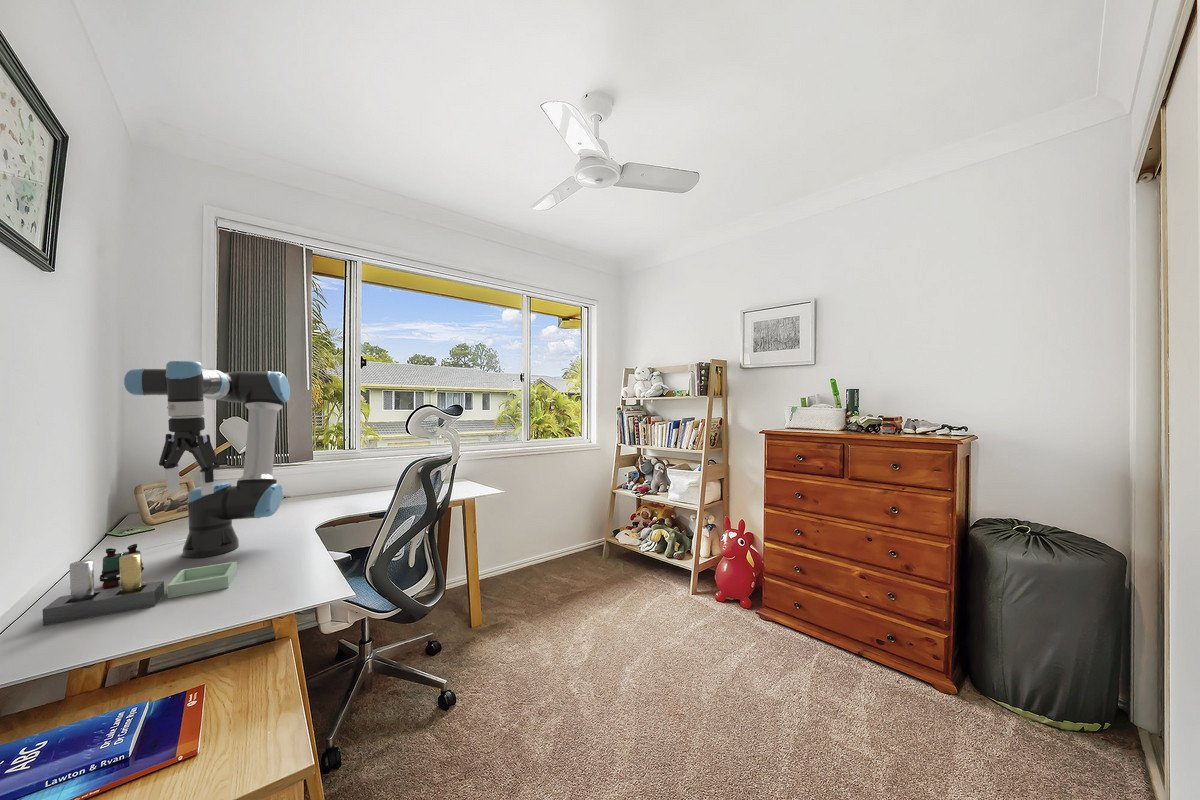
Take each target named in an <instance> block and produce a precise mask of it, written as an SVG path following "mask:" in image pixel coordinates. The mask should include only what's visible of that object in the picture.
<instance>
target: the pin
mask: <svg viewBox="0 0 1200 800" xmlns="http://www.w3.org/2000/svg"><path fill="white" fill-rule="evenodd" d="M94 568H95V567H94V559H83V560H79V561H75V562H71V563H70V564H69V579H70V581H69V582H70V583H69V585H70V595H71V603H73V602H79V601H85V600H91V599H93V598H94V597H95V595H94V591H95V571H94Z"/></svg>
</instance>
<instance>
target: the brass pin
mask: <svg viewBox="0 0 1200 800" xmlns="http://www.w3.org/2000/svg"><path fill="white" fill-rule="evenodd" d="M141 560H142V553H141V554H140V553H134V554H128V555H124V556H123V555H122V556H121V557H120V558H119V566H120V575H119V577H120V580H119V587H120V593H121V595H122V594H128V593H134V592H140V591H142V584H143V581H142V580H143V579H142V578H143V577H142V576H143V575H142V572H143V571H142V572H141Z"/></svg>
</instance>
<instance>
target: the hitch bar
mask: <svg viewBox="0 0 1200 800" xmlns="http://www.w3.org/2000/svg"><path fill="white" fill-rule="evenodd" d="M165 592H166V591H165V580H164V579H163V580H158V581H157V580H156V581H151V582H145V583H143V582H142V591H140V592H134V593H128V594H122V595H121V593H120V586H118V587H116V588H111V589H101V590H94V595H95V597H94V598H93V599H91V600H85V601H79V602H73V603H71V594H69V595H62V596H58V597H57V598H56V599H54V600H53V601H51V603H49V604H48V605H46V606H45V607H43V609H42V627H43V626H44V627H45V626H50V625H57V624H63V623H67V622H73V621H78V620H84V619H88V618H89V619H90V618H95V617H101V616H105V615H106V616H107V615H113V614H119V613H123V612H124V613H125V612H130V611H135V610H141V609H147V608H151V607H152V608H153V607H155V606H156V605H157V604H158V603H159V602H160V601H161V600H162V598H163V597H164V596H165V594H166V593H165Z"/></svg>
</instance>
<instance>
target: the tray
mask: <svg viewBox="0 0 1200 800" xmlns="http://www.w3.org/2000/svg"><path fill="white" fill-rule="evenodd" d="M237 567H238V562H237V561H230V562H224V563H218V564H209V565H205V566H198V567H191V568H186V569H181V570H179V572H178V573H177V574H176V575H175V576H174V578H172V580H171V581H170V582H169V583H168V584H167V585H166V587H167V599H172V598H177V597H182V596H188V595H193V594H194V595H195V594H200V593H206V592H210V591H211V592H212V591H216V590H217V591H219V590H224V589H228V588H229V587H230V586H231V584H232V582H233V581H234V578H235V577H236V575H237V572H238V568H237Z"/></svg>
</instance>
